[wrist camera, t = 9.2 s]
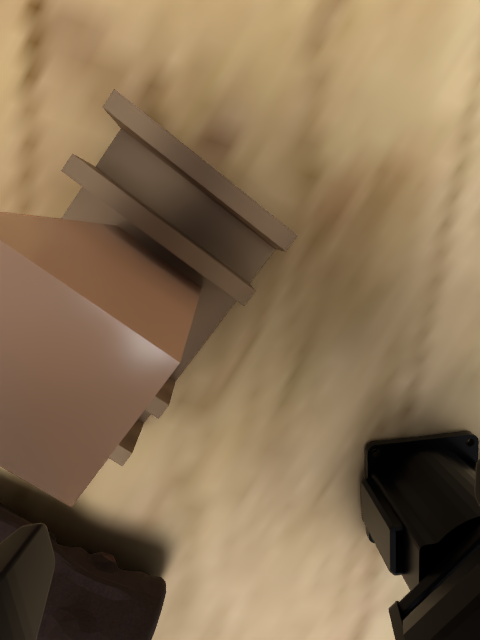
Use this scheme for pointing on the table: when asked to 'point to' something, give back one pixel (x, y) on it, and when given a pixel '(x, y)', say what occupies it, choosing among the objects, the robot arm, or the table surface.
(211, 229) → the rack
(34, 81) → the table surface
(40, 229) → the clay block
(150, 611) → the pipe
